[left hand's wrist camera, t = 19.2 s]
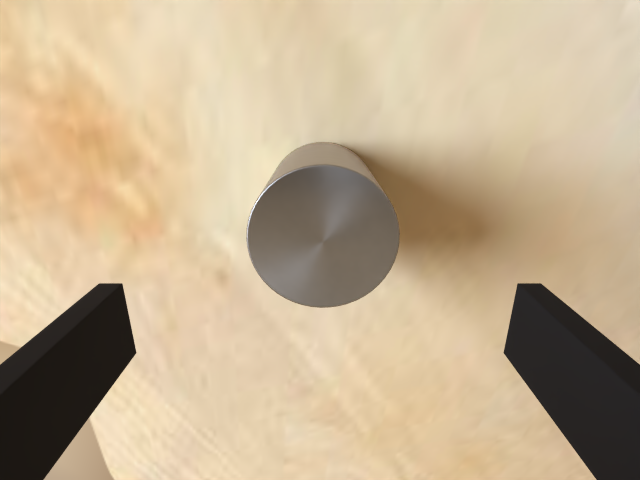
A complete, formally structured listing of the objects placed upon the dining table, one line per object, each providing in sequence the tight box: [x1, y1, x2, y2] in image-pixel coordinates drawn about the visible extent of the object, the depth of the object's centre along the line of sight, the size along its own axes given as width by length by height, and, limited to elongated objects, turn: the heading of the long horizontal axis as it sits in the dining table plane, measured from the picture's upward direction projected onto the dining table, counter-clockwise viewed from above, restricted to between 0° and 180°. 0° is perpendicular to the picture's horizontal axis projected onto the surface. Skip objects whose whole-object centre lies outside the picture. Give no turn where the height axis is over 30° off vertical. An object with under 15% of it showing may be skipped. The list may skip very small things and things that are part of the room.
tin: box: [247, 142, 400, 308], centre depth 23 cm, size 8×8×10 cm
